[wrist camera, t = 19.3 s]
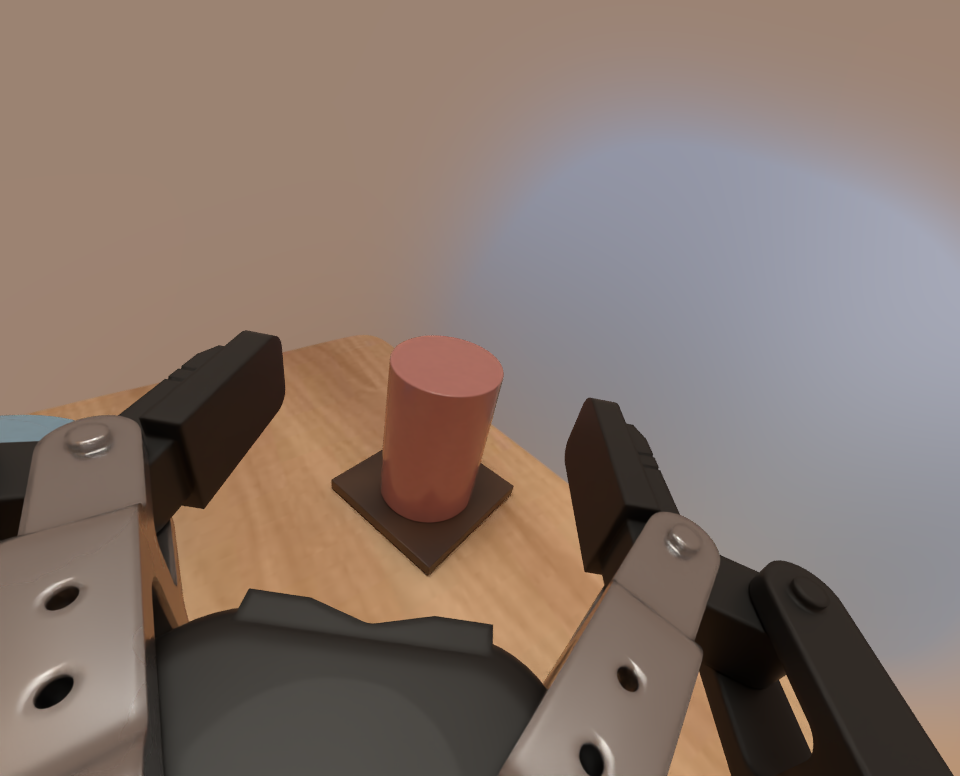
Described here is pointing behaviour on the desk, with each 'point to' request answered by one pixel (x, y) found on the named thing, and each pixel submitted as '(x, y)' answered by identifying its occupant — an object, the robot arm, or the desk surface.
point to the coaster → (412, 537)
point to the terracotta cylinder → (436, 425)
